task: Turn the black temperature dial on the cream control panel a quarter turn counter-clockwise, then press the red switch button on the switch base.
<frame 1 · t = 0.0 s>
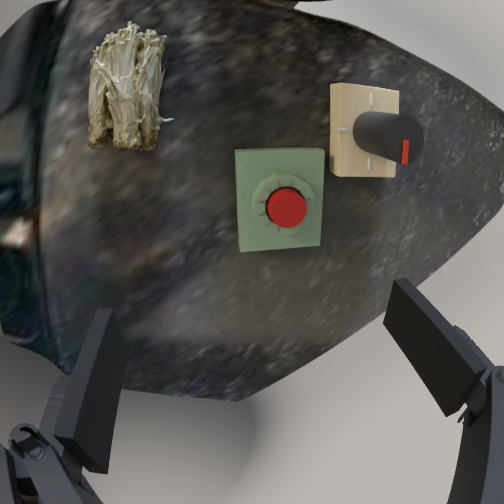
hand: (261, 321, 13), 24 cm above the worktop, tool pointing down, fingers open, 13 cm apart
switch button: (286, 208, 33), point 4 cm above the worktop, slide at 0.1 cm
mushroom: (130, 92, 29), on the worktop
dial panel: (359, 129, 34), on the worktop
dial: (387, 135, 28), point 7 cm above the worktop, hinge at 0.0°
switch base: (277, 196, 36), on the worktop
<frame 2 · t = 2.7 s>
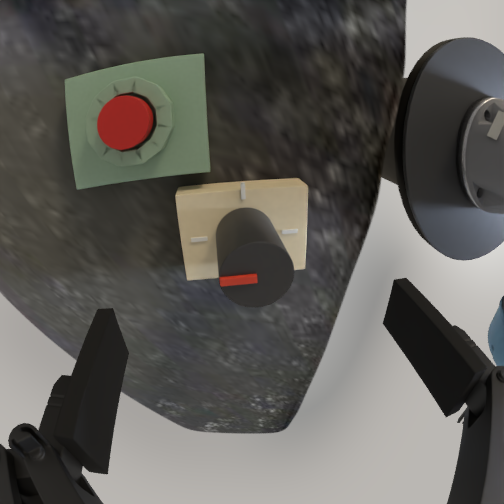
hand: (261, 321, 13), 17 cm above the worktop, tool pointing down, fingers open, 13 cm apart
switch button: (125, 122, 19), point 4 cm above the worktop, slide at 0.1 cm
dial panel: (241, 222, 29), on the worktop
dial: (250, 254, 23), point 7 cm above the worktop, hinge at 0.0°
switch base: (138, 120, 23), on the worktop
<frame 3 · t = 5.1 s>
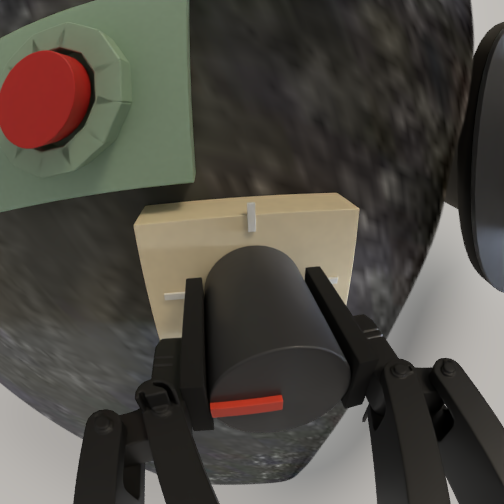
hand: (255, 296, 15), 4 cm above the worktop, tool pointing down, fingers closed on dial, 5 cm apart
switch button: (42, 98, 9), point 4 cm above the worktop, slide at 0.1 cm
dial panel: (246, 261, 18), on the worktop
dial: (265, 335, 12), point 7 cm above the worktop, hinge at 0.1°, touching gripper
switch base: (82, 99, 13), on the worktop
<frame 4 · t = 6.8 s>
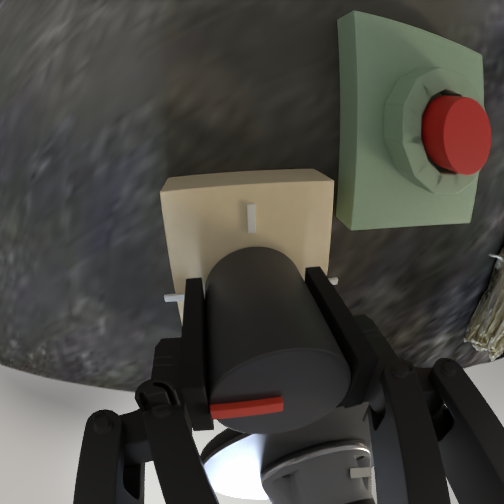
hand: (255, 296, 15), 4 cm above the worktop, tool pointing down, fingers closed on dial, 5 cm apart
switch button: (458, 134, 12), point 4 cm above the worktop, slide at 0.1 cm
mushroom: (500, 280, 24), on the worktop
dial panel: (246, 262, 18), on the worktop
dial: (266, 337, 12), point 7 cm above the worktop, hinge at 90.0°, touching gripper
switch base: (410, 124, 16), on the worktop
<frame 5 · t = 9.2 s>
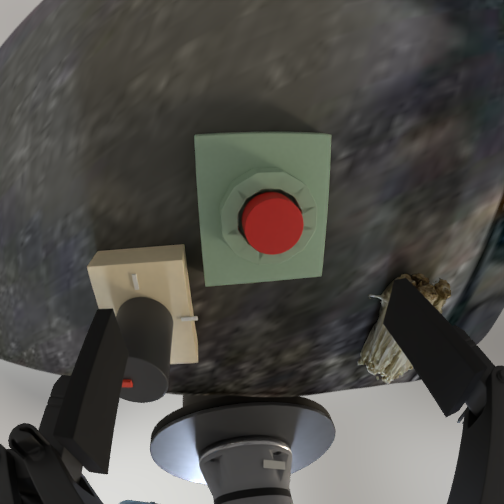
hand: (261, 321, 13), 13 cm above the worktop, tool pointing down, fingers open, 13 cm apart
switch button: (272, 223, 21), point 4 cm above the worktop, slide at 0.1 cm
mushroom: (395, 314, 33), on the worktop
dial panel: (149, 301, 27), on the worktop
dial: (138, 349, 21), point 7 cm above the worktop, hinge at 90.0°
switch base: (260, 204, 25), on the worktop
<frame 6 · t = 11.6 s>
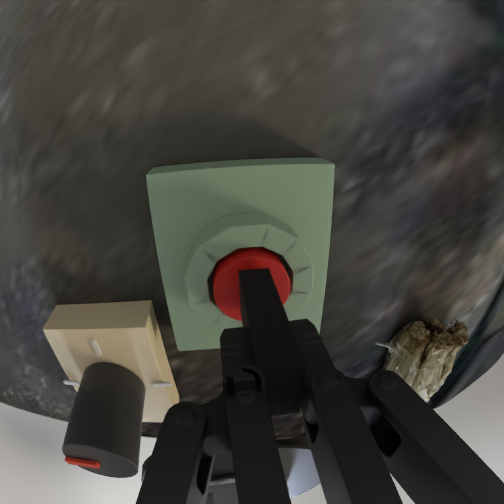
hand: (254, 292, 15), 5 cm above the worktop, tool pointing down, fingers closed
switch button: (250, 282, 16), point 4 cm above the worktop, slide at -0.7 cm, touching gripper
mushroom: (403, 357, 28), on the worktop
dial panel: (120, 356, 22), on the worktop
dial: (106, 422, 16), point 7 cm above the worktop, hinge at 90.0°
switch base: (242, 253, 20), on the worktop
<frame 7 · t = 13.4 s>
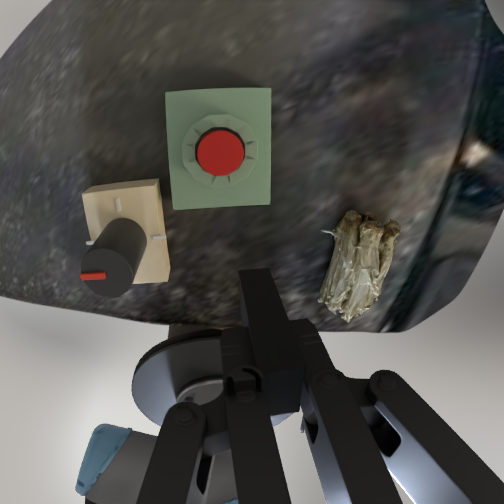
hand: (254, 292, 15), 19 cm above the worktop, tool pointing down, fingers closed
switch button: (220, 152, 26), point 4 cm above the worktop, slide at 0.1 cm
mushroom: (351, 254, 38), on the worktop
dial panel: (130, 228, 33), on the worktop
dial: (115, 256, 27), point 7 cm above the worktop, hinge at 90.0°
switch base: (218, 145, 30), on the worktop
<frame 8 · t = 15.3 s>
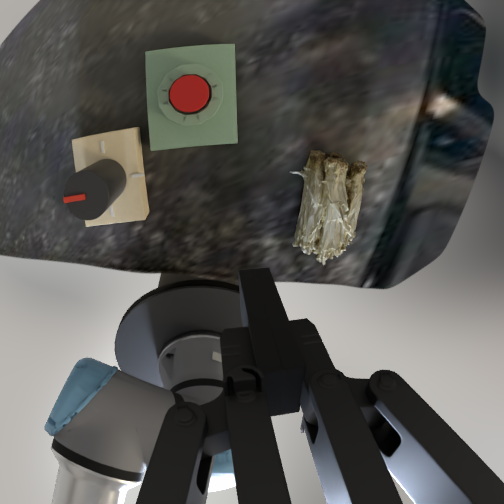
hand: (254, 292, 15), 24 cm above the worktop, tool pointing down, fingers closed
switch button: (189, 93, 28), point 4 cm above the worktop, slide at 0.1 cm
mushroom: (323, 198, 40), on the worktop
dial panel: (114, 174, 34), on the worktop
dial: (96, 187, 28), point 7 cm above the worktop, hinge at 90.0°
switch base: (191, 96, 32), on the worktop
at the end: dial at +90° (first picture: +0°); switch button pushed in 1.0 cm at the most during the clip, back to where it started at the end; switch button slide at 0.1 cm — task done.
